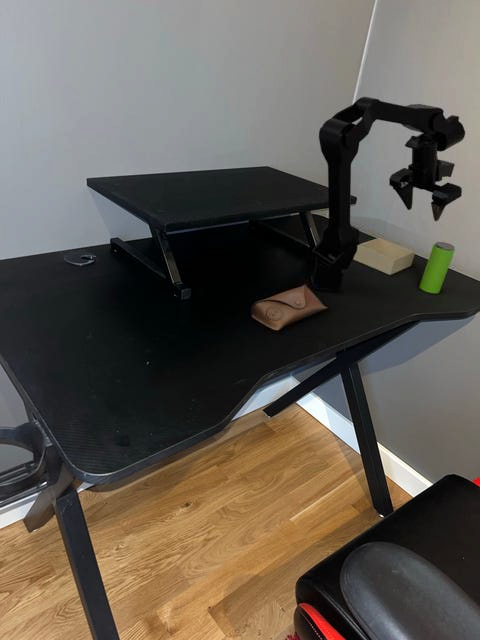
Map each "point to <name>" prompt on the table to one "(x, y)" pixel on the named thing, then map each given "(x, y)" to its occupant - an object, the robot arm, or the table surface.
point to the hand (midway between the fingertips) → (422, 214)
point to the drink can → (437, 267)
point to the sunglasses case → (286, 308)
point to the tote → (384, 255)
